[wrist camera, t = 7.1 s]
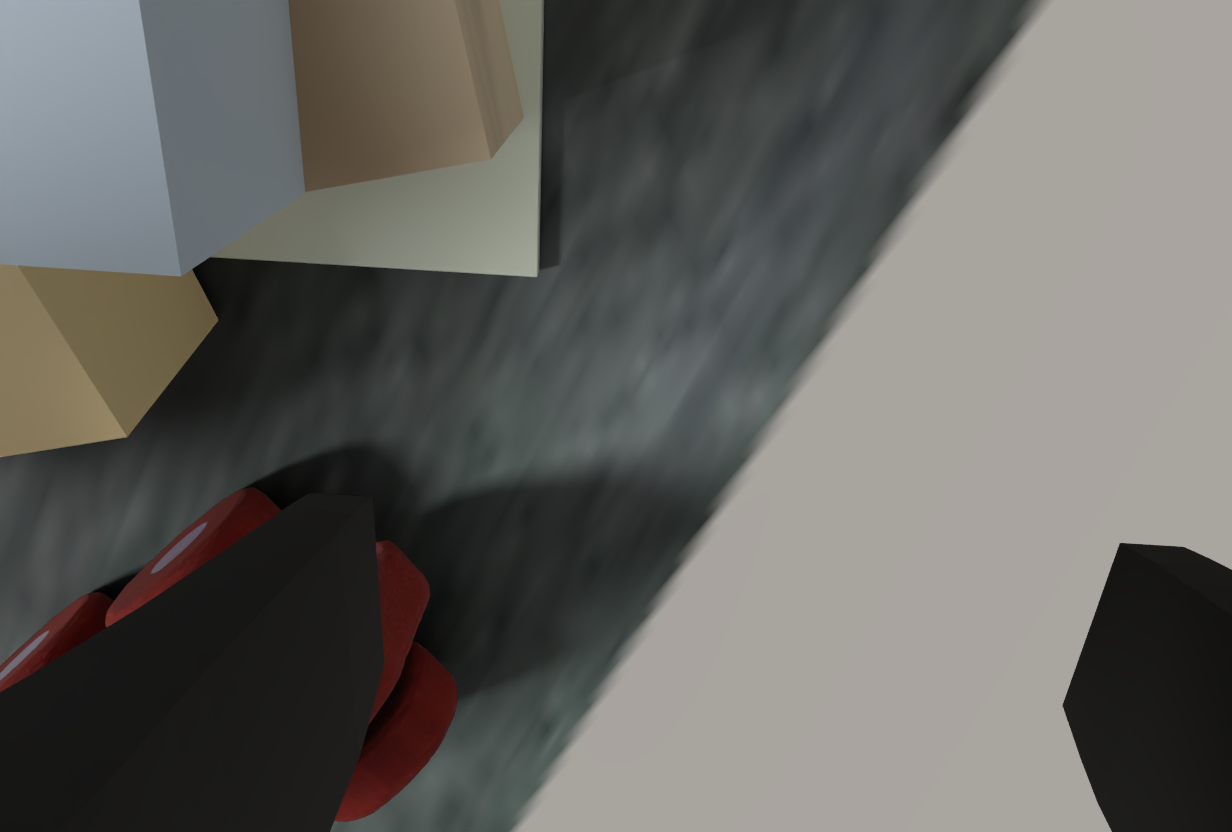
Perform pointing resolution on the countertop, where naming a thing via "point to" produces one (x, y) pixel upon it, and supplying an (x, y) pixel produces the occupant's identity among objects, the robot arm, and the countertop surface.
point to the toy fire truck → (412, 677)
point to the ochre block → (90, 351)
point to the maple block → (400, 86)
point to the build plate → (431, 198)
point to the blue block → (143, 130)
